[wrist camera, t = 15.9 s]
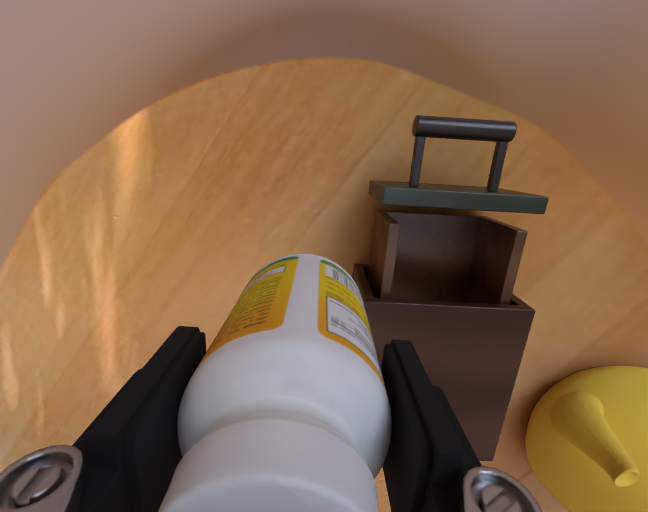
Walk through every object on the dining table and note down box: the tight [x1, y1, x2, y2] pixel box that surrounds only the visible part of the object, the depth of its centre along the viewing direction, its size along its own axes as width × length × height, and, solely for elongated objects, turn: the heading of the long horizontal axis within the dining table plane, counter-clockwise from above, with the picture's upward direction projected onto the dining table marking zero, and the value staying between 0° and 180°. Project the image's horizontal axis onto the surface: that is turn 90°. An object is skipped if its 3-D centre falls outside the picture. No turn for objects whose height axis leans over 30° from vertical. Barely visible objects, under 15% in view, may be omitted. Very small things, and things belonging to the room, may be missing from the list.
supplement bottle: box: [158, 254, 392, 512], centre depth 10 cm, size 5×5×10 cm
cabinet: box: [353, 264, 535, 461], centre depth 29 cm, size 15×13×9 cm
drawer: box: [368, 115, 548, 305], centre depth 26 cm, size 18×11×7 cm, turn 177°
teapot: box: [525, 366, 648, 512], centre depth 30 cm, size 25×18×14 cm
